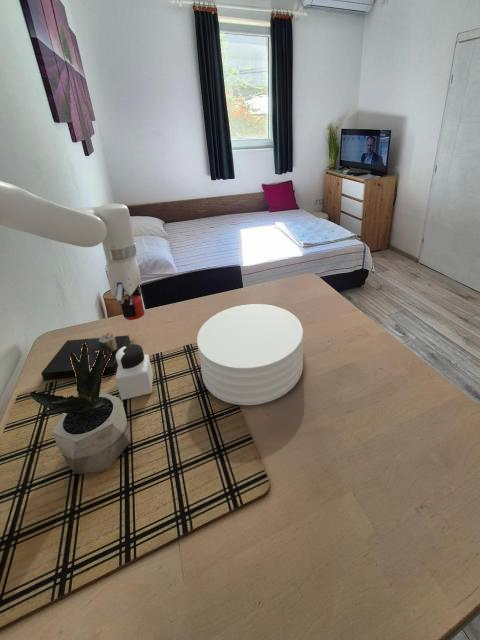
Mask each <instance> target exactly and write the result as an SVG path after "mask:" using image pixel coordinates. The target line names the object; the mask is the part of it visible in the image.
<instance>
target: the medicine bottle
mask: <svg viewBox="0 0 480 640" xmlns="http://www.w3.org/2000/svg"><path fill="white" fill-rule="evenodd" d="M150 359H151V358H150V356H149V354H148V353H147V354H145V353H144V349H143V347H142V346H141V345H140V344H138V343H129V345H127V346H124V347H122V348H121V349H120V350H119V351H118V352H117V353H116V360H117V363H118V367H117V369H116V374H115V383H116V387H117V390H118V394H119V397H120V400H121V401H124V400H128V399H133V398H136V397H141V396H145V395H149V394H152V392H153V381H154V380H153V378H154V372H153V369H152V364H151V360H150Z"/></svg>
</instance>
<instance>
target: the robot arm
mask: <svg viewBox="0 0 480 640" xmlns="http://www.w3.org/2000/svg"><path fill="white" fill-rule="evenodd" d="M0 226H3V227H6V228H8V229H12V230H14V231H15V230H16V231H19V232H24V233H27V234H30V235H34V236H37V237H40V238H44V239H46V240H50V241H55V242H59V243H63V244H68V245H72V246H75V247H80V248H93V247H96V246H99V245H100V244H102V249H103V253H104V258H105V260H106V261H107V274H108V281H109V287H110V291H111V296H112V297H116V303H118V304H119V306H120V308H121V310H122V316H123V318H124V319H125V318H126V317H136V310H135V305H134V303H132V296H133V295H138V296H141V298H142V299H143V297H142V293H141V287H140V283H141V281H142V276H141V270H140V266H139V262H138V259H137V256H138V250H137V245H136V239H135V233H134V230H133V229H134V228H133V225H132V219H131V215H130V210H129V208H128V206H127V205H126V204H123V203H107V204H103V205H99V206H90V207H87V206H86V207H72V208H71V207H67V206H64V205H61V204H59V203H55V202H54V201H50V200H47V199H45V198H42V197H40V196H39V195H36V194H34V193H32V192H30V191H29V190H26V189H24V188H22V187H19V186H17V185H15V184H11V183H9V182H5V181H3V180H0ZM126 297H128V300H127V299H125V298H126ZM142 303H143V301H142ZM143 304H144V303H143Z"/></svg>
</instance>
